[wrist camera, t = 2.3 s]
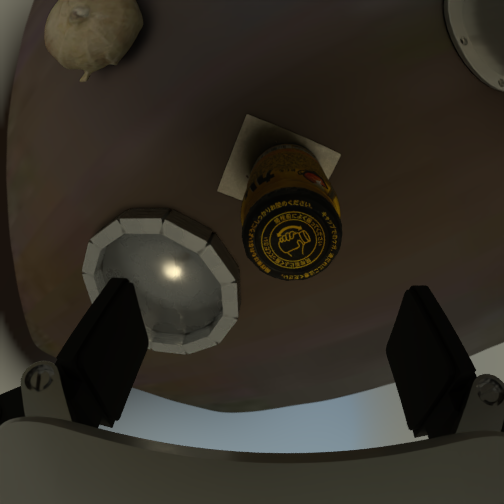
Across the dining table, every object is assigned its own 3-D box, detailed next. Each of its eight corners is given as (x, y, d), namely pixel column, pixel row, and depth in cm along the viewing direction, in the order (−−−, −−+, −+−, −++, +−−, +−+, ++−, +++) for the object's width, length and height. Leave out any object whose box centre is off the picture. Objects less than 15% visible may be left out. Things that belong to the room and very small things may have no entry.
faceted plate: (79, 210, 29) (67, 219, 27) (237, 208, 28) (234, 219, 26) (114, 331, 37) (107, 343, 35) (242, 344, 36) (240, 358, 34)
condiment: (305, 225, 28) (319, 310, 18) (217, 190, 27) (179, 259, 17) (340, 153, 25) (385, 202, 14) (247, 113, 24) (223, 130, 13)
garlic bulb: (123, -4, 20) (80, -61, 10) (185, 21, 20) (153, -51, 11) (61, 69, 21) (-4, 33, 11) (115, 104, 22) (46, 62, 12)
